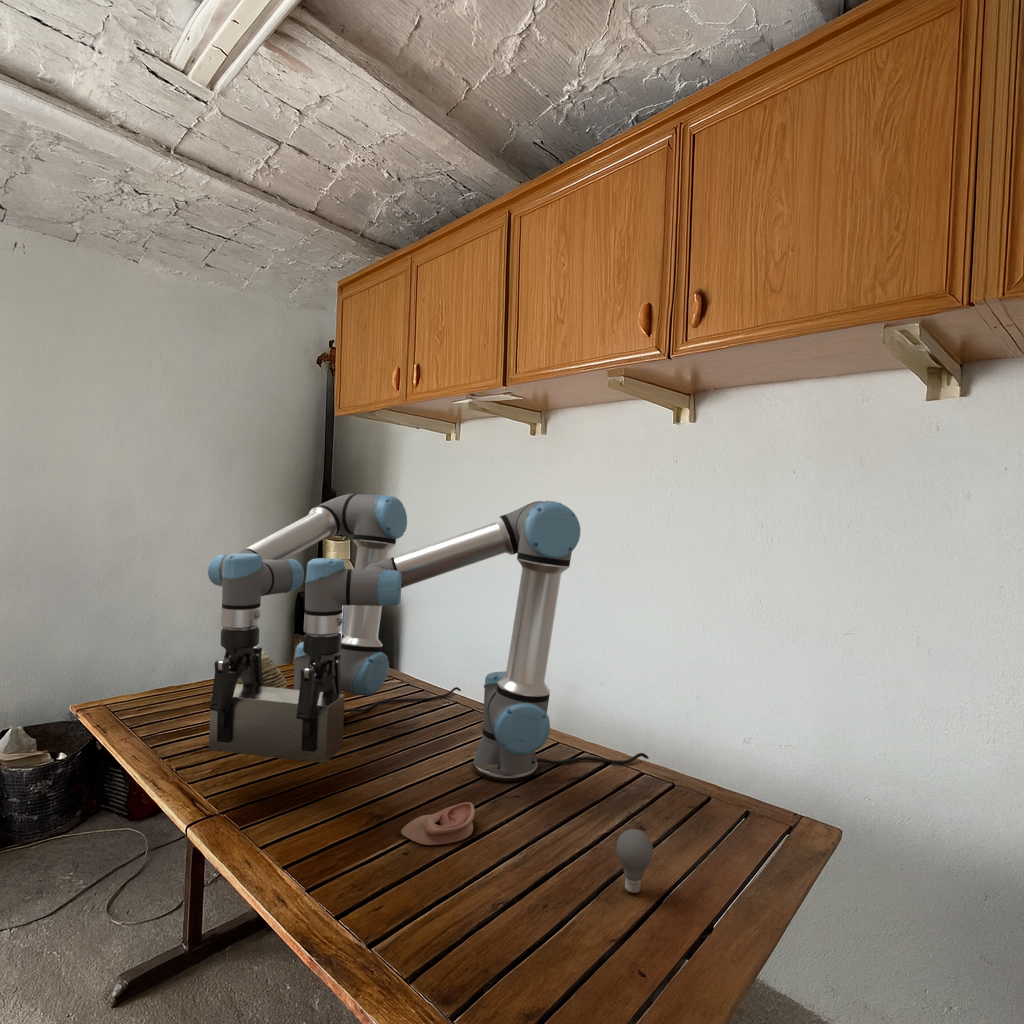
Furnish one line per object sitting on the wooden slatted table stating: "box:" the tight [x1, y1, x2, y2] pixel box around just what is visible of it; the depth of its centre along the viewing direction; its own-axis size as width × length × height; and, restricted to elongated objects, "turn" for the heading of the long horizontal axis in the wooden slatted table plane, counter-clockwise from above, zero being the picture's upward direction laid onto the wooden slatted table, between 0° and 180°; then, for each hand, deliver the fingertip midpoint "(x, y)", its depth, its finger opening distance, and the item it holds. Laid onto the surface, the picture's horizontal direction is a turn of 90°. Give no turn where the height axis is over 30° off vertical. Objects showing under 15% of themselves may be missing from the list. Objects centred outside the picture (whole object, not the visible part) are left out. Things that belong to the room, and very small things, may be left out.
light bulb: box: [615, 828, 654, 894], centre depth 106 cm, size 6×6×10 cm
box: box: [208, 684, 346, 764], centre depth 133 cm, size 26×8×12 cm, turn 81°
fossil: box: [229, 648, 288, 689], centre depth 198 cm, size 9×18×15 cm, turn 132°
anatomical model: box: [400, 801, 476, 846], centre depth 122 cm, size 13×4×12 cm
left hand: (236, 733), depth 134 cm, fingers closed on box, 8 cm apart
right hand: (318, 742), depth 131 cm, fingers closed on box, 8 cm apart
